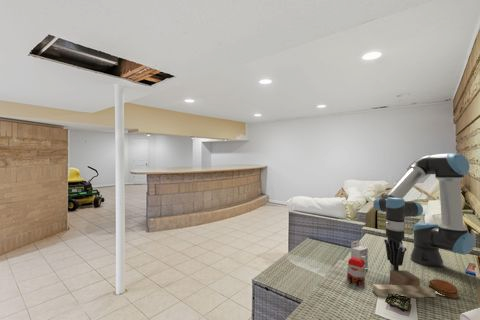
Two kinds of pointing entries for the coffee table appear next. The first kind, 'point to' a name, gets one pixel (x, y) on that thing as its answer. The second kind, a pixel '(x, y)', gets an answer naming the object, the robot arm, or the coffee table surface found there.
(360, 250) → the ink box
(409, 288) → the maple board
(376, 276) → the coffee table surface
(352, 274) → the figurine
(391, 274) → the walnut block
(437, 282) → the burger
